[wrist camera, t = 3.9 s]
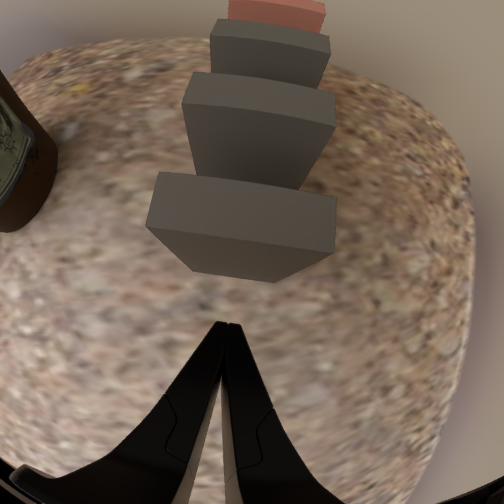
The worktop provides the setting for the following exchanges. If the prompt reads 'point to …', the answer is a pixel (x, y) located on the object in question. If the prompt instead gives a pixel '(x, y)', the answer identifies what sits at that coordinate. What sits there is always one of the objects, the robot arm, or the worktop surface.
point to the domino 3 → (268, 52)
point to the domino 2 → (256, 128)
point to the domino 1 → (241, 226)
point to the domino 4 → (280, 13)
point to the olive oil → (22, 161)
